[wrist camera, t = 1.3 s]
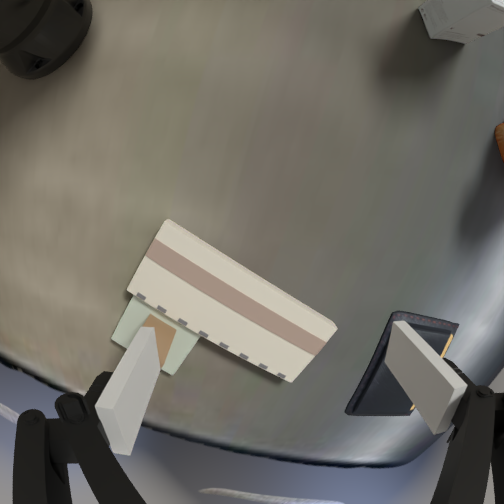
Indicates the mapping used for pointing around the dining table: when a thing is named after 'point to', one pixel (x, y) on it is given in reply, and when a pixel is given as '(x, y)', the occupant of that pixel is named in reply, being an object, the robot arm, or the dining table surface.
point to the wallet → (382, 379)
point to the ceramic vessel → (500, 138)
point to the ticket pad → (229, 303)
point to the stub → (156, 333)
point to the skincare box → (462, 18)
